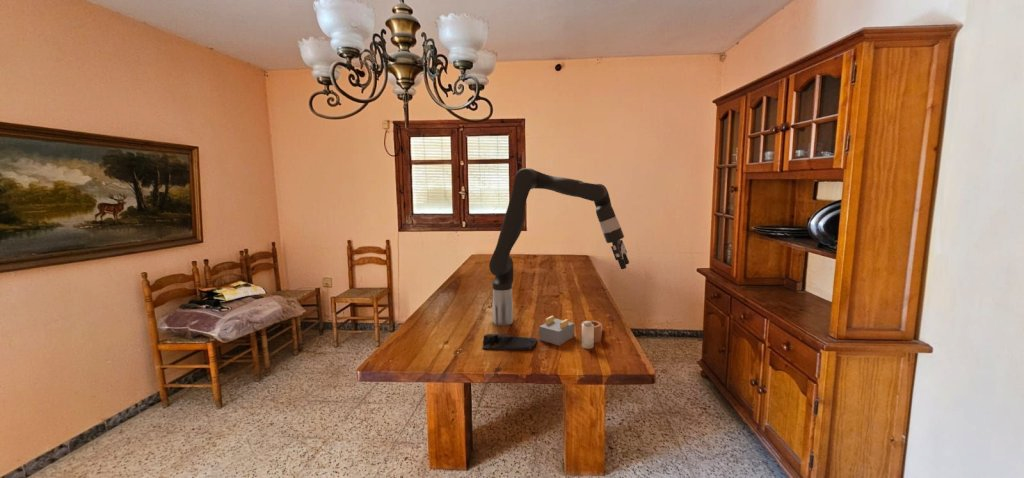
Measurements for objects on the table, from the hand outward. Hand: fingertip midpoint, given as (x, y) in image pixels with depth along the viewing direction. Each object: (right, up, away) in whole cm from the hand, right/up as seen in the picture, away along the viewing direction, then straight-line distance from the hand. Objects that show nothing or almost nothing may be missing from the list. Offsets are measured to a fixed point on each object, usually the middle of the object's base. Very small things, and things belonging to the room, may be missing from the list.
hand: (625, 266), depth 164 cm
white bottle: (-16, -33, -2) cm, 36 cm away
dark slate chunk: (-48, -34, +3) cm, 58 cm away
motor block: (-27, -31, +9) cm, 42 cm away
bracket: (-12, -31, +10) cm, 35 cm away
